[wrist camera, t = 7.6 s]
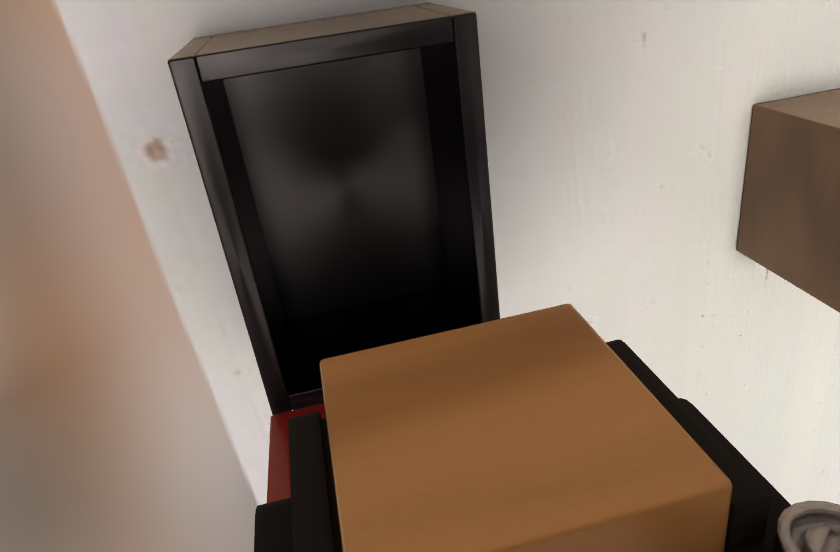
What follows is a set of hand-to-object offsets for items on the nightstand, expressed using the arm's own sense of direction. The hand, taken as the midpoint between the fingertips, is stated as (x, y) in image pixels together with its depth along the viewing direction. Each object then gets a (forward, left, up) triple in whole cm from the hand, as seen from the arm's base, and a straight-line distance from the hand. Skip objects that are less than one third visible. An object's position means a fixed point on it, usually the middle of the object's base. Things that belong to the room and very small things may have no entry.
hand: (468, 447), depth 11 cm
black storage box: (+1, 0, -19) cm, 19 cm away
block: (0, 0, -1) cm, 1 cm away
